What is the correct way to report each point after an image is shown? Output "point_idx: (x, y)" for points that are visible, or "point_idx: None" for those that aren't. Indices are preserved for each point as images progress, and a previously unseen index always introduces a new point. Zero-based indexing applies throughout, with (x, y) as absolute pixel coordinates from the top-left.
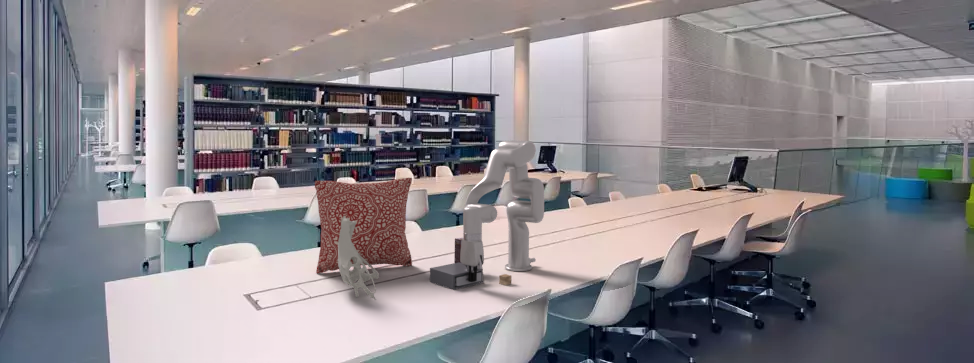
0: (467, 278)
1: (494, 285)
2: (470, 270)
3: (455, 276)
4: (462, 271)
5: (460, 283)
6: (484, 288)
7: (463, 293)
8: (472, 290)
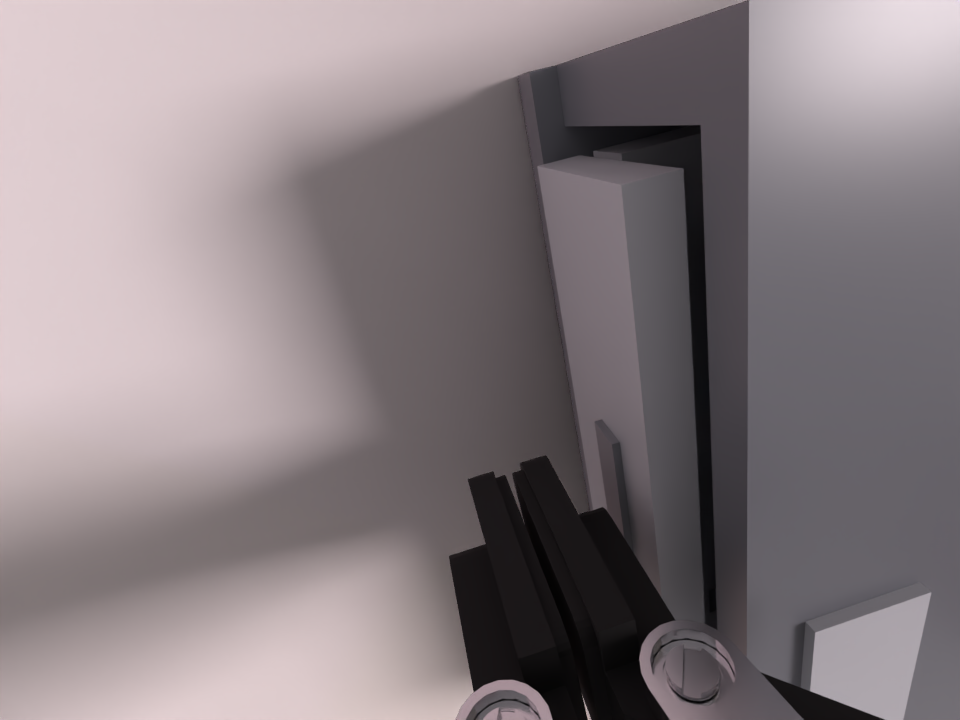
0: (617, 481)
1: (437, 709)
2: (629, 713)
3: None
4: (872, 509)
5: (568, 271)
6: (358, 580)
7: (172, 143)
8: (324, 391)
